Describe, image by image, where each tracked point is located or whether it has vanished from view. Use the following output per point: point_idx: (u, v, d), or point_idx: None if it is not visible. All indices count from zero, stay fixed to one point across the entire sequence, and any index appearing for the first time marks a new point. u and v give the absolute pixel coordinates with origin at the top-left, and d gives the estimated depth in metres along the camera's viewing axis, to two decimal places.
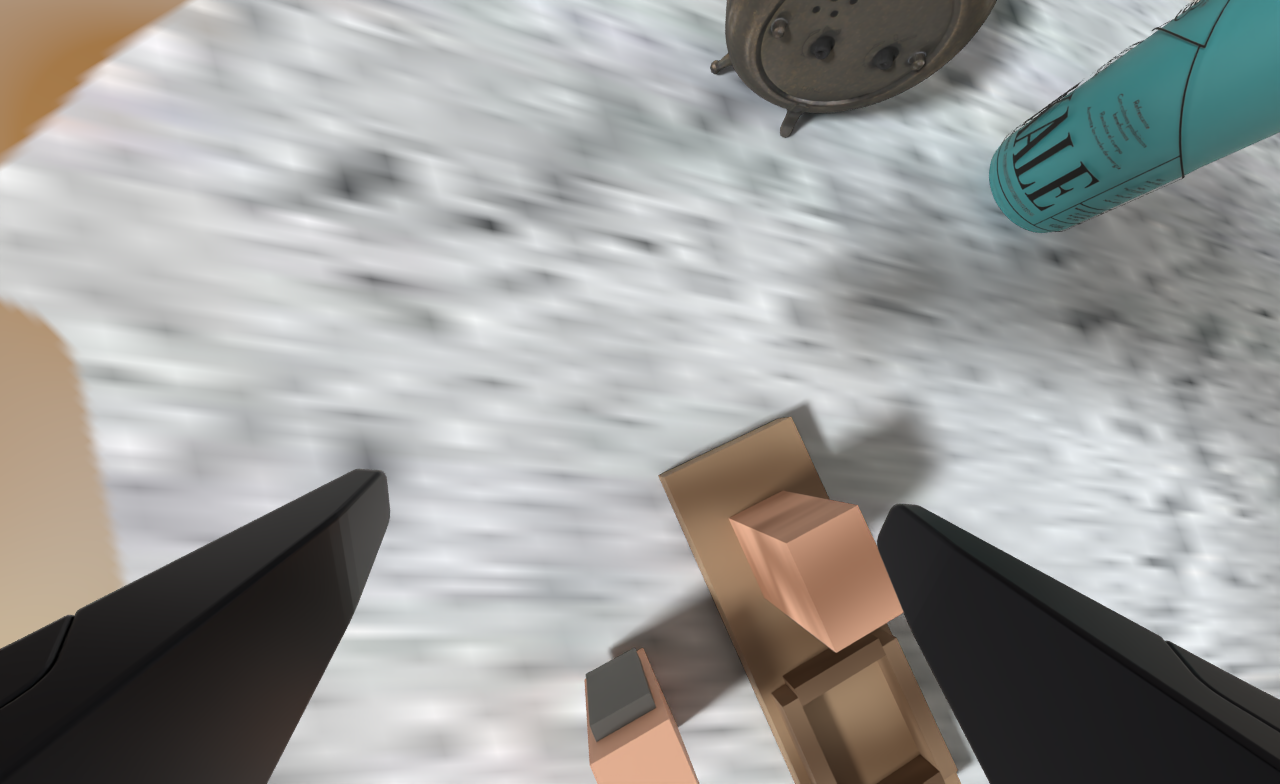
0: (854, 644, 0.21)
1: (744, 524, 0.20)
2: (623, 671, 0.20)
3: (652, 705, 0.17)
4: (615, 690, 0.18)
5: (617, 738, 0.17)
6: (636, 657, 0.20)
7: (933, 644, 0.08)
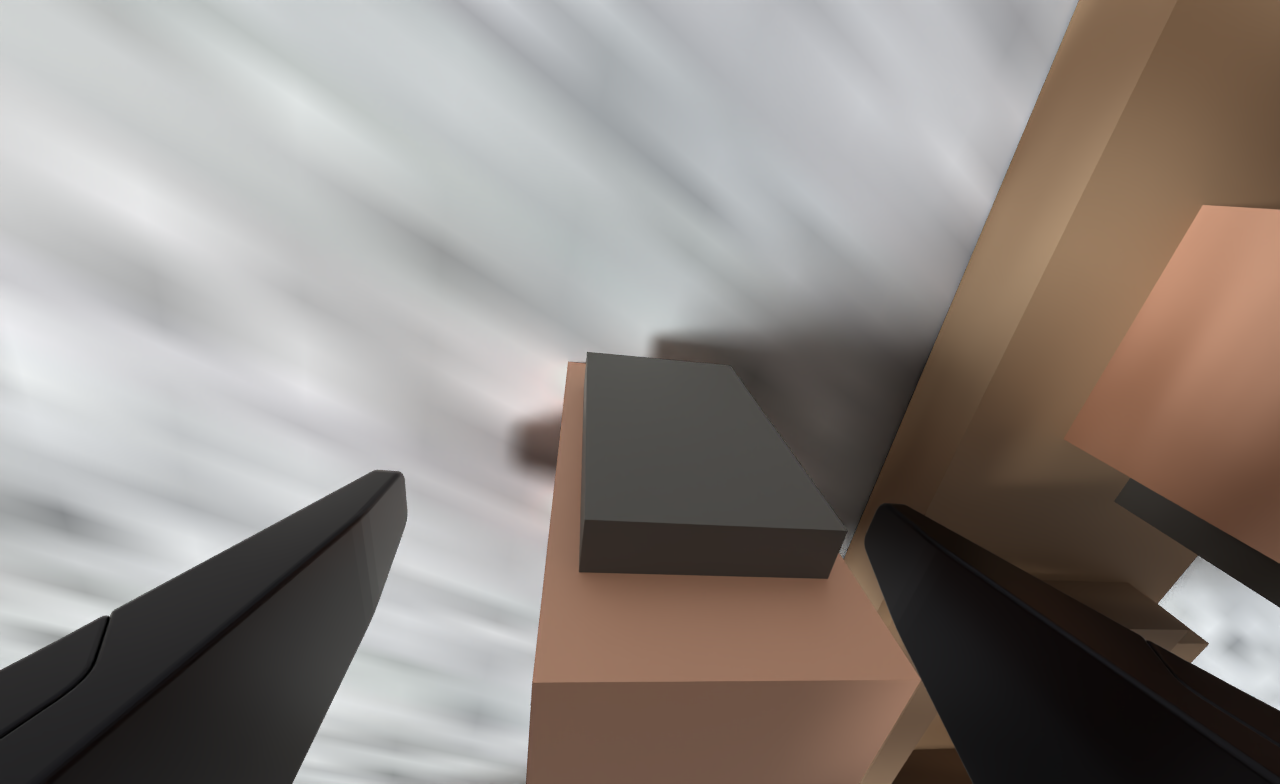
0: (1124, 608, 0.10)
1: None
2: (707, 402, 0.06)
3: (822, 567, 0.04)
4: (688, 442, 0.05)
5: (672, 616, 0.04)
6: (744, 389, 0.07)
7: (918, 644, 0.07)
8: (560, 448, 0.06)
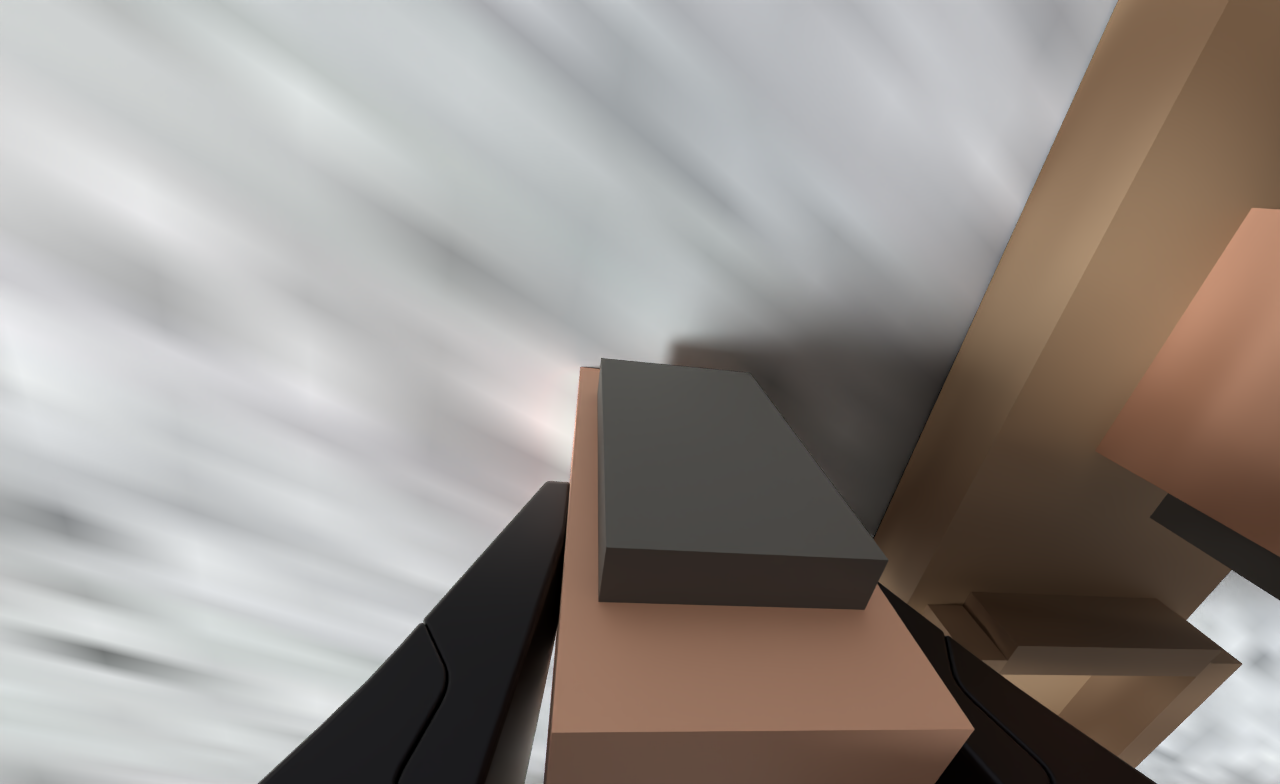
0: (1153, 626, 0.09)
1: None
2: (729, 413, 0.06)
3: (859, 597, 0.04)
4: (711, 458, 0.05)
5: (701, 653, 0.04)
6: (766, 400, 0.07)
7: None
8: (575, 461, 0.06)
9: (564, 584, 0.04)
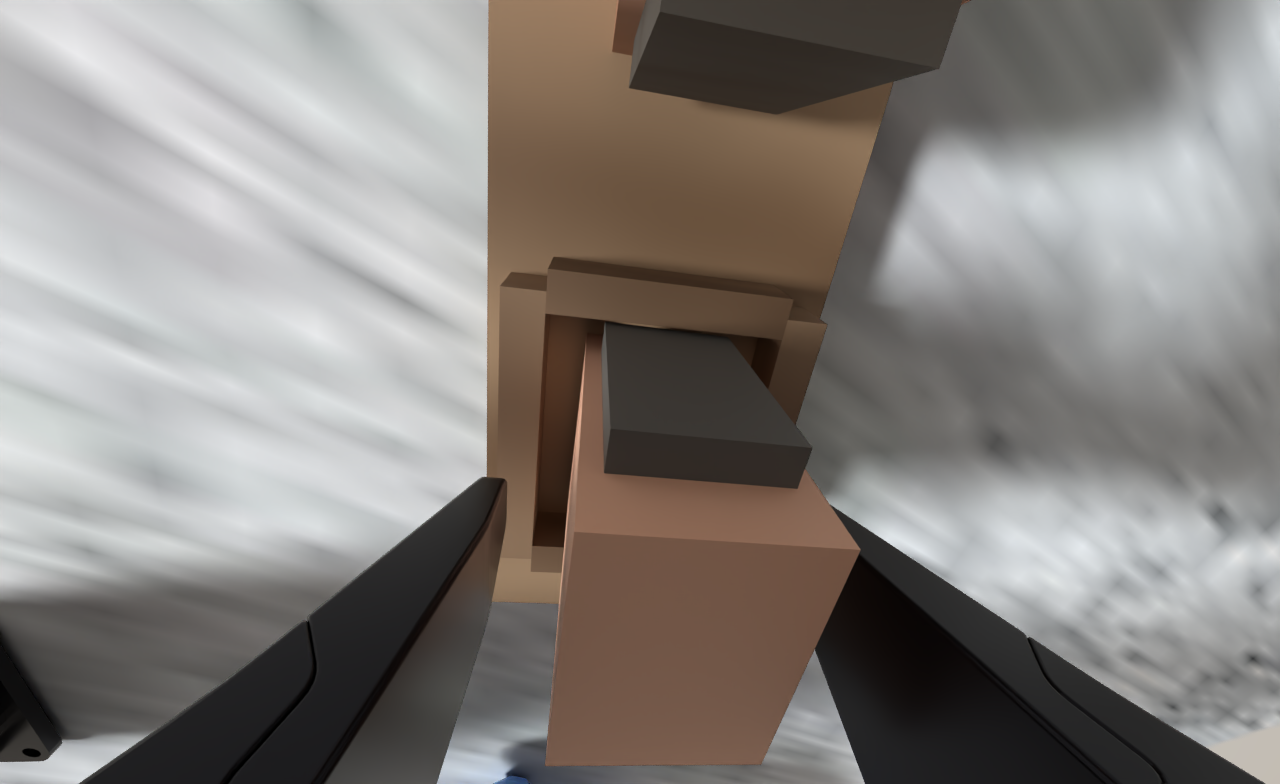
0: (736, 286, 0.09)
1: None
2: (706, 361, 0.08)
3: (793, 478, 0.06)
4: (690, 386, 0.07)
5: (675, 502, 0.05)
6: (738, 354, 0.08)
7: (823, 642, 0.07)
8: (584, 394, 0.07)
9: (579, 462, 0.06)
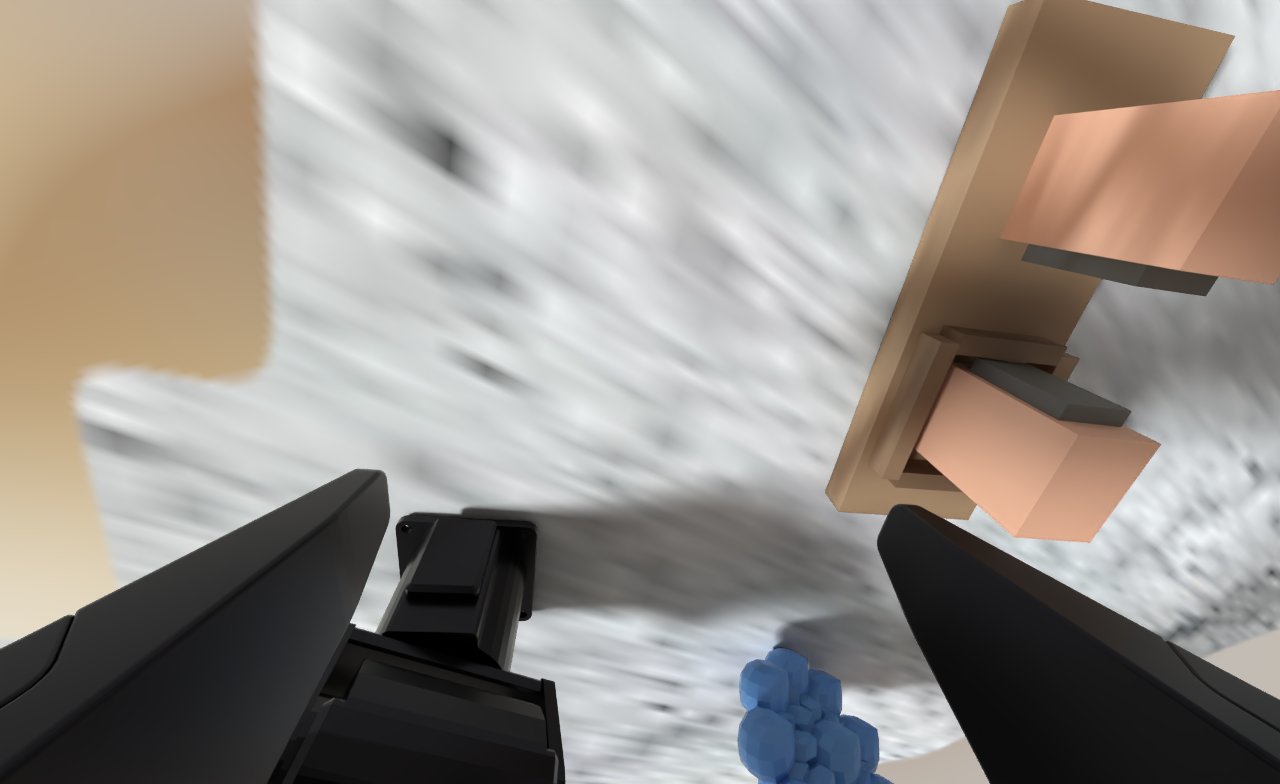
0: (1035, 340, 0.19)
1: (1112, 109, 0.14)
2: (1045, 377, 0.17)
3: (1120, 423, 0.15)
4: (1060, 388, 0.16)
5: (1091, 429, 0.15)
6: None
7: (933, 644, 0.08)
8: (1001, 391, 0.17)
9: (1046, 416, 0.15)
